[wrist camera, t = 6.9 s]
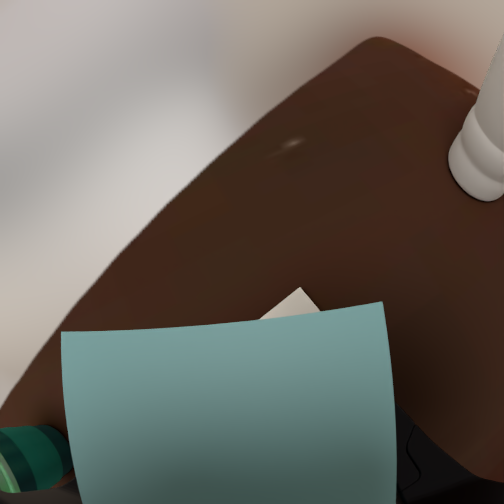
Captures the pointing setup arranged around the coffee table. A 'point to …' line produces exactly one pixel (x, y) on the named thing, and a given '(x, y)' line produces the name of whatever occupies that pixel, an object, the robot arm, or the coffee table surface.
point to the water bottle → (483, 138)
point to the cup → (32, 458)
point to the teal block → (234, 411)
